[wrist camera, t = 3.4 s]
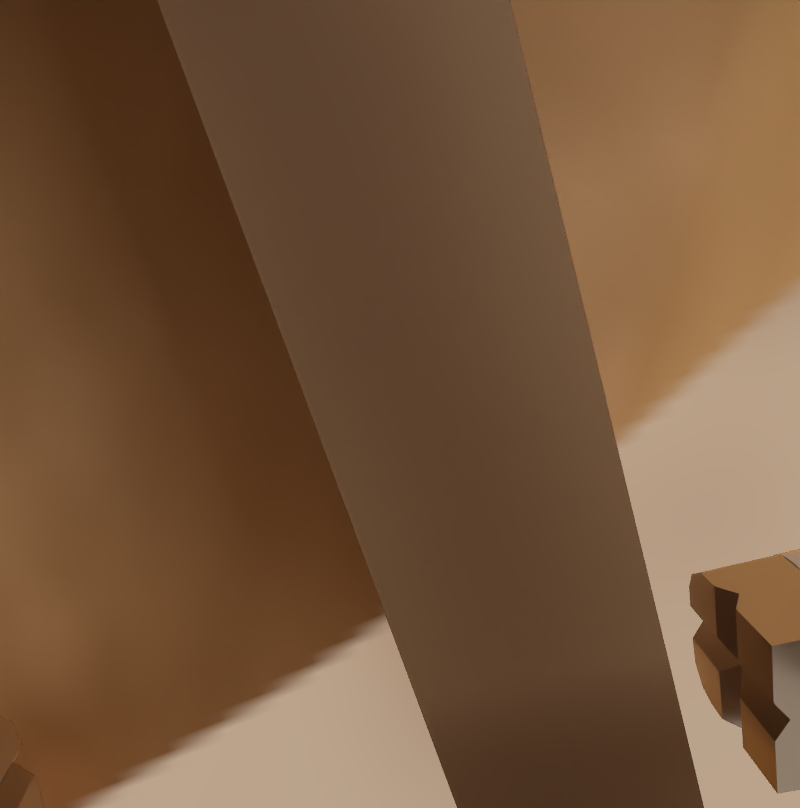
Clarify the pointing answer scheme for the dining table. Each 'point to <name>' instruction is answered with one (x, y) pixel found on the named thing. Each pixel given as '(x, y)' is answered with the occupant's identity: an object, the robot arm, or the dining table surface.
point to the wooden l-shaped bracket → (449, 380)
